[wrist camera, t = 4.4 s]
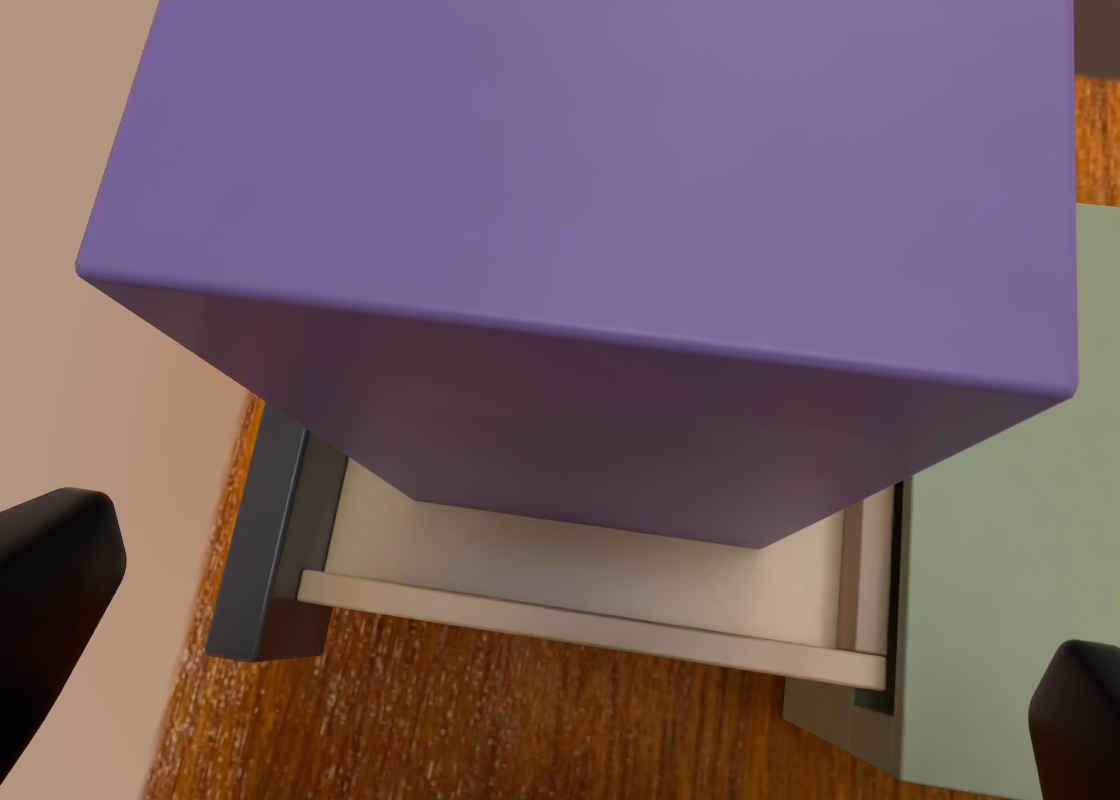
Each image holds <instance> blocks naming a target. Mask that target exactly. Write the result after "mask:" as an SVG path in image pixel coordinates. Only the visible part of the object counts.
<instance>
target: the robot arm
mask: <svg viewBox="0 0 1120 800" xmlns="http://www.w3.org/2000/svg"><path fill="white" fill-rule="evenodd" d="M125 569H126V552H125V548H124V544H123V540H122V536H121V532H120V528H119V524H118V520H117V516H116V512H115V508H114V505H113V502H112V500H111V499H110V498H109V497H108V496H107V495H106V494H104V493H102V492H99V491H93V490H85V489H79V488H72V487H65V488H60V489H57V490H54V491H52V492H49V493H47V494H44V495H42V496H39V497H37V498H34V499H32V500H29V501H27V502H24V503H22V504H19V505H17V506H14V507H12V508H10V509H7V510H4V511H2V512H0V785H1V784H2V782H3V781H4V779H5V778H6V776H7V775H8V773H9V772H10V771H11V769H12V768H13V766H14V765H15V763H16V762H17V760H18V759H19V757H20V756H21V754H22V753H23V752H24V750H25V749H26V747H27V746H28V744H29V743H30V741H31V740H32V738H33V737H34V735H35V734H36V732H37V730H38V729H39V727H40V726H41V724H42V723H43V721H44V720H45V718H46V716H47V715H48V713H49V711H50V710H51V708H52V706H53V705H54V703H55V701H56V700H57V698H58V696H59V695H60V693H61V691H62V689H63V687H64V685H65V684H66V682H67V680H68V678H69V676H70V674H71V673H72V671H73V669H74V667H75V665H76V663H77V661H78V660H79V658H80V656H81V655H82V653H83V651H84V649H85V647H86V645H87V644H88V642H89V640H90V638H91V636H92V635H93V633H94V631H95V629H96V627H97V625H98V624H99V622H100V620H101V618H102V616H103V614H104V613H105V611H106V609H107V607H108V605H109V604H110V602H111V600H112V598H113V596H114V595H115V593H116V591H117V589H118V587H119V585H120V583H121V581H122V579H123V576H124V573H125ZM1028 726H1029V732H1030V737H1031V742H1032V747H1033V752H1034V757H1035V762H1036V767H1037V772H1038V777H1039V782H1040V787H1041V792H1042V797H1043V800H1120V648H1119V647H1117V646H1114V645H1111V644H1105V643H1099V642H1092V641H1085V640H1079V639H1071V640H1067V641H1065V642H1063V643H1062V644H1061V645H1060V646H1059V647H1058V649H1057V650H1056V652H1055V654H1054V656H1053V658H1052V660H1051V662H1050V663H1049V665H1048V667H1047V669H1046V671H1045V673H1044V675H1043V677H1042V679H1041V681H1040V682H1039V684H1038V686H1037V688H1036V690H1035V692H1034V694H1033V696H1032V698H1031V701H1030V704H1029V709H1028Z"/></svg>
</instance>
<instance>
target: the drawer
mask: <svg viewBox="0 0 1120 800" xmlns="http://www.w3.org/2000/svg"><path fill="white" fill-rule="evenodd" d="M894 492H895V484H894V485H892V486H890V487H888V488H886V489H884V490H882V491H880V492H878V493H876V494H874V495H872V496H870V497H868V498H866V499H864V500H861V501H859V502H857V503H855V504H853V505H851V506H849V507H847V508H845V509H843V510H841V511H839V512H837V513H835V514H833V515H831V516H829V517H827V518H825V519H823V520H820V521H818V522H816V523H814V524H812V525H810V526H808V527H806V528H804V529H802V530H800V531H798V532H796V533H794V534H792V535H790V536H788V537H786V538H784V539H782V540H779V541H777V542H775V543H773V544H771V545H769V546H767V547H765V548H763V549H753V548H746V547H738V546H731V545H724V544H717V543H710V542H703V541H696V540H689V539H682V538H675V537H668V536H661V535H654V534H647V533H640V532H633V531H626V530H619V529H611V528H604V527H597V526H590V525H583V524H576V523H569V522H562V521H555V520H548V519H541V518H534V517H527V516H520V515H513V514H506V513H499V512H492V511H484V510H477V509H470V508H463V507H456V506H449V505H442V504H435V503H428V502H421V501H414V500H413V499H411V498H409V497H408V496H406V495H405V494H403V493H402V492H400V491H399V490H397V489H396V488H394V487H393V486H391V485H390V484H388V483H387V482H385V481H384V480H382V479H381V478H380V477H378V476H377V475H375V474H374V473H372V472H371V471H369V470H368V469H366V468H365V467H363V466H362V465H360V464H359V463H357V462H356V461H354V460H353V459H351V458H350V457H348V456H347V455H345V454H344V453H342V452H341V451H339V450H338V449H336V448H335V447H333V446H332V445H330V444H329V443H327V442H326V441H324V440H323V439H321V438H320V437H318V436H317V435H315V434H314V433H312V432H311V431H309V430H308V429H306V428H305V427H303V426H302V425H300V424H299V423H297V422H296V421H294V420H293V419H291V418H290V417H288V416H287V415H285V414H284V413H282V412H281V411H279V410H278V409H276V408H275V407H273V406H272V405H270V404H269V403H267V402H265V406H264V410H263V414H262V418H261V423H260V427H259V431H258V435H257V439H256V443H255V447H254V451H253V455H252V459H251V463H250V467H249V471H248V475H247V479H246V484H245V488H244V492H243V496H242V500H241V504H240V508H239V512H238V516H237V520H236V524H235V528H234V532H233V536H232V541H231V545H230V549H229V553H228V557H227V561H226V565H225V569H224V573H223V577H222V581H221V585H220V589H219V593H218V597H217V602H216V606H215V610H214V614H213V618H212V622H211V626H210V630H209V634H208V638H207V642H206V646H205V653H206V654H207V655H209V656H213V657H220V658H226V659H232V660H238V661H244V662H250V663H253V662H263V661H273V660H283V659H292V658H302V657H312V656H319V655H321V654H322V653H323V650H324V645H325V640H326V636H327V631H328V626H329V622H330V617H331V612H332V607H337V608H344V609H350V610H357V611H363V612H370V613H376V614H383V615H389V616H396V617H402V618H409V619H415V620H422V621H428V622H435V623H441V624H448V625H454V626H461V627H467V628H474V629H480V630H487V631H493V632H500V633H506V634H512V635H519V636H525V637H532V638H538V639H545V640H551V641H558V642H564V643H571V644H577V645H584V646H590V647H597V648H603V649H610V650H616V651H623V652H629V653H636V654H642V655H649V656H655V657H662V658H668V659H674V660H681V661H687V662H694V663H700V664H707V665H713V666H720V667H726V668H733V669H739V670H746V671H752V672H759V673H765V674H772V675H778V676H785V677H791V678H798V679H804V680H811V681H817V682H824V683H830V684H836V685H843V686H849V687H856V688H862V689H869V690H875V691H884V690H885V688H886V667H887V660H886V658H885V657H883V656H886V655H887V651H888V628H889V605H890V583H891V560H892V537H893V515H894Z"/></svg>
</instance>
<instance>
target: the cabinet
mask: <svg viewBox="0 0 1120 800" xmlns="http://www.w3.org/2000/svg"><path fill="white" fill-rule="evenodd" d="M1076 246H1077V320H1078V387H1077V389H1076V392H1075V394H1074V396H1073V398H1071V399H1068V400H1066V401H1064V402H1062V403H1060V404H1058V405H1056V406H1054V407H1052V408H1050V409H1048V410H1046V411H1044V412H1042V413H1040V414H1038V415H1036V416H1034V417H1032V418H1030V419H1027V420H1025V421H1023V422H1021V423H1019V424H1017V425H1015V426H1013V427H1011V428H1009V429H1007V430H1005V431H1003V432H1001V433H999V434H997V435H995V436H993V437H991V438H989V439H986V440H984V441H982V442H980V443H978V444H976V445H974V446H972V447H970V448H968V449H966V450H964V451H962V452H960V453H958V454H956V455H954V456H952V457H950V458H948V459H945V460H943V461H941V462H939V463H937V464H935V465H933V466H931V467H929V468H927V469H925V470H923V471H921V472H919V473H917V474H915V475H913V476H911V477H909V478H907V479H905V480H902V481H900V482H898V483H896V484H895V492H894V515H893V537H892V560H891V583H890V605H889V628H888V651H887V655H886V656H883V657H885V658H886V660H887V667H886V688H885V690H884V691H875V690H869V689H862V688H856V687H849V686H843V685H836V684H830V683H824V682H817V681H811V680H804V679H798V678H791V677H785V690H784V704H783V719H784V720H785V721H787V722H789V723H791V724H793V725H795V726H797V727H799V728H801V729H803V730H805V731H807V732H809V733H810V734H812V735H814V736H816V737H818V738H820V739H822V740H824V741H826V742H828V743H830V744H832V745H834V746H836V747H838V748H840V749H842V750H844V751H846V752H848V753H849V754H851V755H852V756H854V757H856V758H858V759H860V760H862V761H864V762H866V763H868V764H870V765H872V766H874V767H876V768H878V769H880V770H882V771H883V772H885V773H887V774H889V775H891V776H893V777H895V778H896V779H898V780H900V781H902V782H907V783H913V784H920V785H926V786H932V787H938V788H944V789H950V790H956V791H962V792H969V793H975V794H981V795H987V796H993V797H999V798H1005V799H1012V800H1043V797H1042V792H1041V787H1040V782H1039V777H1038V772H1037V767H1036V762H1035V757H1034V752H1033V747H1032V742H1031V737H1030V732H1029V726H1028V709H1029V704H1030V701H1031V698H1032V696H1033V694H1034V692H1035V690H1036V688H1037V686H1038V684H1039V682H1040V681H1041V679H1042V677H1043V675H1044V673H1045V671H1046V669H1047V667H1048V665H1049V663H1050V662H1051V660H1052V658H1053V656H1054V654H1055V652H1056V650H1057V649H1058V647H1059V646H1060V645H1061V644H1062V643H1063V642H1065V641H1067V640H1071V639H1079V640H1085V641H1092V642H1099V643H1105V644H1111V645H1114V646H1117V647H1119V648H1120V207H1111V206H1102V205H1092V204H1082V203H1076Z"/></svg>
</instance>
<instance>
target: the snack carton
mask: <svg viewBox="0 0 1120 800" xmlns="http://www.w3.org/2000/svg"><path fill="white" fill-rule="evenodd" d="M1073 26H1074V23H1073V0H159V3H158V6H157V9H156V12H155V15H154V19H153V22H152V25H151V28H150V31H149V34H148V38H147V40H146V43H145V47H144V50H143V53H142V56H141V59H140V62H139V65H138V69H137V72H136V75H135V78H134V81H133V84H132V87H131V91H130V93H129V97H128V100H127V103H126V106H125V109H124V112H123V115H122V118H121V121H120V125H119V128H118V131H117V134H116V137H115V140H114V143H113V146H112V149H111V153H110V156H109V159H108V162H107V165H106V168H105V171H104V174H103V177H102V181H101V184H100V187H99V190H98V193H97V196H96V199H95V203H94V206H93V209H92V212H91V215H90V218H89V221H88V224H87V227H86V230H85V234H84V237H83V240H82V243H81V246H80V249H79V252H78V255H77V259H76V262H75V269H76V273H77V274H78V276H79V277H81V278H82V279H84V280H85V281H87V282H88V283H90V284H91V285H93V286H94V287H96V288H97V289H99V290H100V291H102V292H103V293H105V294H106V295H108V296H109V297H111V298H112V299H114V300H115V301H117V302H118V303H120V304H121V305H123V306H124V307H125V308H127V309H129V310H130V311H132V312H133V313H134V314H136V315H138V316H139V317H140V318H142V319H143V320H145V321H146V322H148V323H149V324H151V325H153V326H154V327H155V328H157V329H158V330H160V331H161V332H163V333H164V334H166V335H167V336H169V337H171V338H172V339H173V340H175V341H176V342H178V343H179V344H181V345H182V346H184V347H185V348H187V349H188V350H190V351H191V352H193V353H194V354H196V355H197V356H199V357H200V358H202V359H203V360H205V361H206V362H208V363H209V364H211V365H212V366H214V367H215V368H217V369H218V370H220V371H221V372H223V373H224V374H226V375H227V376H229V377H230V378H232V379H233V380H235V381H236V382H238V383H239V384H241V385H242V386H244V387H245V388H247V389H248V390H249V391H251V392H252V393H254V394H255V395H257V396H258V397H260V398H261V399H263V400H264V401H266V402H267V403H269V404H270V405H272V406H273V407H275V408H276V409H278V410H279V411H281V412H282V413H284V414H285V415H287V416H288V417H290V418H291V419H293V420H294V421H296V422H297V423H299V424H300V425H302V426H303V427H305V428H306V429H308V430H309V431H311V432H312V433H314V434H315V435H317V436H318V437H320V438H321V439H323V440H324V441H326V442H327V443H329V444H330V445H332V446H333V447H335V448H336V449H338V450H339V451H341V452H342V453H344V454H345V455H347V456H348V457H350V458H351V459H353V460H354V461H356V462H357V463H359V464H360V465H362V466H363V467H365V468H366V469H368V470H369V471H371V472H372V473H374V474H375V475H377V476H378V477H380V478H381V479H382V480H384V481H385V482H387V483H388V484H390V485H391V486H393V487H394V488H396V489H397V490H399V491H400V492H402V493H403V494H405V495H406V496H408V497H409V498H411V499H413V500H414V501H421V502H428V503H435V504H442V505H449V506H456V507H463V508H470V509H477V510H484V511H492V512H499V513H506V514H513V515H520V516H527V517H534V518H541V519H548V520H555V521H562V522H569V523H576V524H583V525H590V526H597V527H604V528H611V529H619V530H626V531H633V532H640V533H647V534H654V535H661V536H668V537H675V538H682V539H689V540H696V541H703V542H710V543H717V544H724V545H731V546H738V547H746V548H753V549H763V548H765V547H767V546H769V545H771V544H773V543H775V542H777V541H779V540H782V539H784V538H786V537H788V536H790V535H792V534H794V533H796V532H798V531H800V530H802V529H804V528H806V527H808V526H810V525H812V524H814V523H816V522H818V521H820V520H823V519H825V518H827V517H829V516H831V515H833V514H835V513H837V512H839V511H841V510H843V509H845V508H847V507H849V506H851V505H853V504H855V503H857V502H859V501H861V500H864V499H866V498H868V497H870V496H872V495H874V494H876V493H878V492H880V491H882V490H884V489H886V488H888V487H890V486H892V485H894V484H896V483H898V482H900V481H902V480H905V479H907V478H909V477H911V476H913V475H915V474H917V473H919V472H921V471H923V470H925V469H927V468H929V467H931V466H933V465H935V464H937V463H939V462H941V461H943V460H945V459H948V458H950V457H952V456H954V455H956V454H958V453H960V452H962V451H964V450H966V449H968V448H970V447H972V446H974V445H976V444H978V443H980V442H982V441H984V440H986V439H989V438H991V437H993V436H995V435H997V434H999V433H1001V432H1003V431H1005V430H1007V429H1009V428H1011V427H1013V426H1015V425H1017V424H1019V423H1021V422H1023V421H1025V420H1027V419H1030V418H1032V417H1034V416H1036V415H1038V414H1040V413H1042V412H1044V411H1046V410H1048V409H1050V408H1052V407H1054V406H1056V405H1058V404H1060V403H1062V402H1064V401H1066V400H1068V399H1071V398H1073V396H1074V394H1075V392H1076V389H1077V387H1078V320H1077V246H1076V171H1075V97H1074V27H1073Z"/></svg>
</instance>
